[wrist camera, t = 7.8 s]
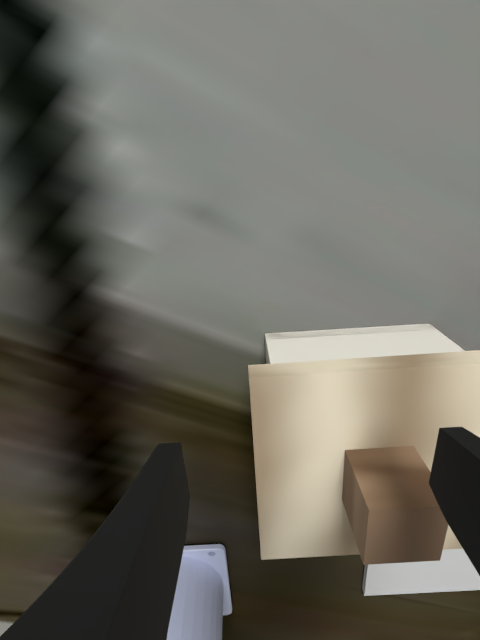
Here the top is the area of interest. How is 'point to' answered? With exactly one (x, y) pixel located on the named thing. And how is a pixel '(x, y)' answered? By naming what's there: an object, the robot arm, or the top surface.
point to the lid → (357, 453)
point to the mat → (422, 576)
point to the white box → (356, 343)
